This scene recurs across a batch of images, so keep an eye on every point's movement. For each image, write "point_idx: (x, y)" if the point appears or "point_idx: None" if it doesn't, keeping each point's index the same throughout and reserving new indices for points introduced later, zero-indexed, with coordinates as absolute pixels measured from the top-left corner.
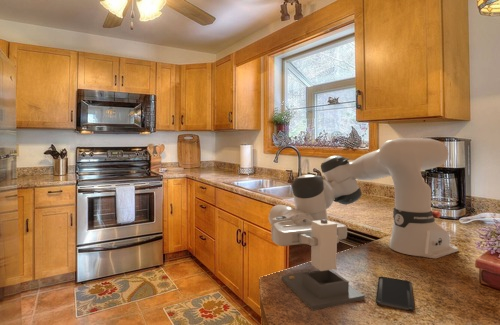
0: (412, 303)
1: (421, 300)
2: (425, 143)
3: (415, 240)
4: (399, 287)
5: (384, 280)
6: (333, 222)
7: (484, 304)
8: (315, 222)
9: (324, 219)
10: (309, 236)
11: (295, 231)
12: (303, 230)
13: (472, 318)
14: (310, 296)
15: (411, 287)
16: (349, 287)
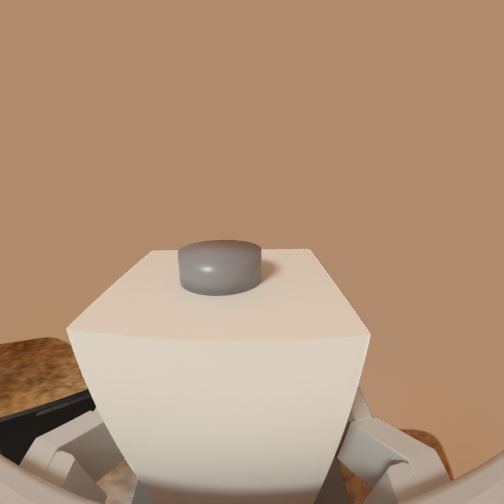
0: (86, 392)
1: (54, 395)
2: None
3: None
4: (32, 429)
5: (17, 463)
6: (135, 266)
7: (15, 348)
8: (330, 289)
9: (198, 255)
10: (365, 429)
11: (502, 455)
12: (422, 501)
13: (66, 346)
14: (321, 496)
15: (19, 412)
16: (144, 500)
